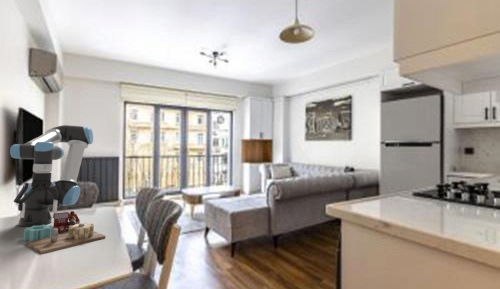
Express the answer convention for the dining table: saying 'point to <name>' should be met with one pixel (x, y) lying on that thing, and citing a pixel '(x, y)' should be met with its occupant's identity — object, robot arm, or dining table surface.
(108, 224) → the dining table surface
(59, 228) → the toy fire truck
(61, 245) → the gear board
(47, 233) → the teal gear
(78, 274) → the dining table surface
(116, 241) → the dining table surface
